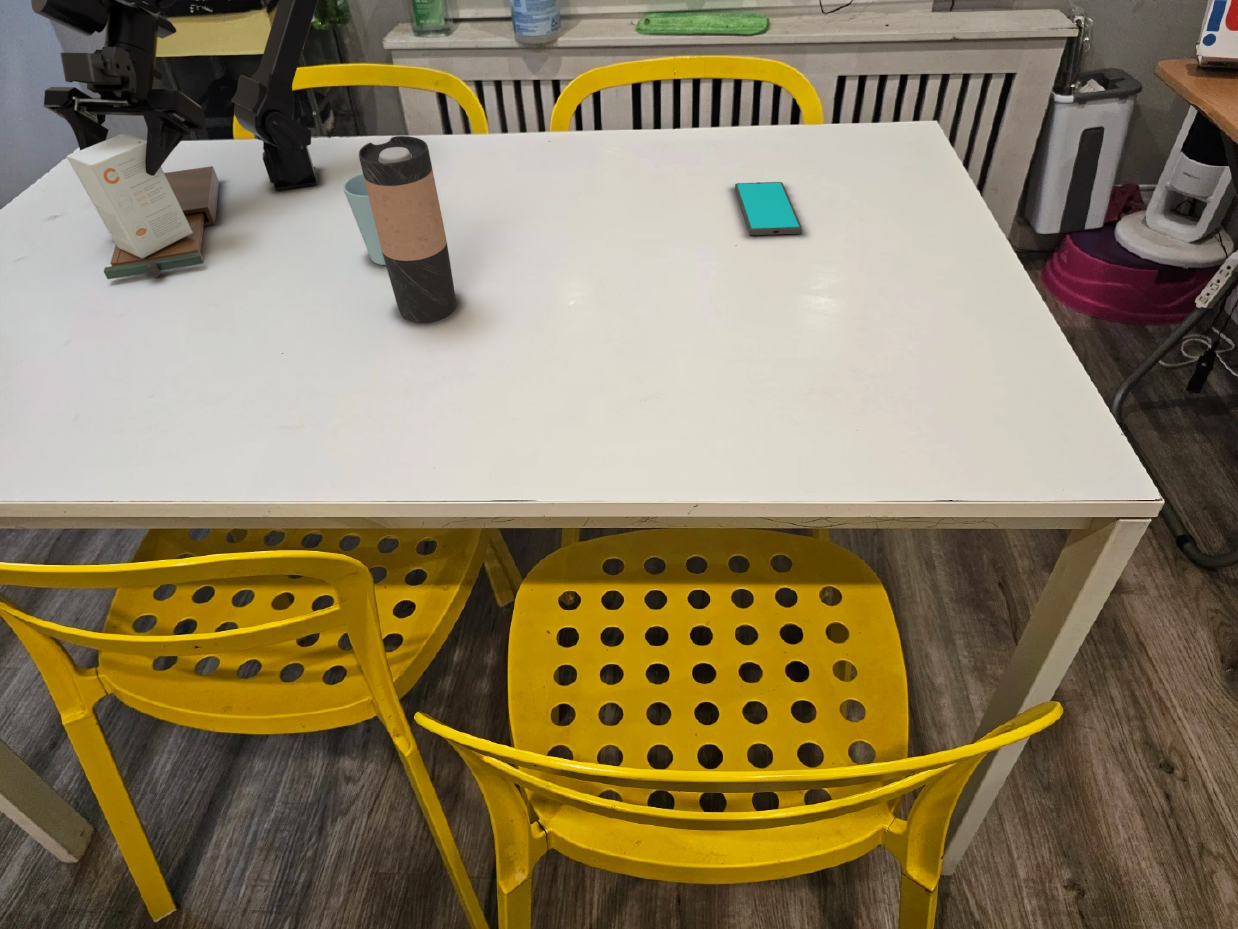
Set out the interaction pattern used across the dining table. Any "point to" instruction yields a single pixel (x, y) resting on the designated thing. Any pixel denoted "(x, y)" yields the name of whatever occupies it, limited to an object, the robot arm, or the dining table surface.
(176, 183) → the cabinet
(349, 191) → the cup
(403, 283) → the travel mug
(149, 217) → the small box
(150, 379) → the dining table surface
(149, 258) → the drawer
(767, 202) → the smartphone
